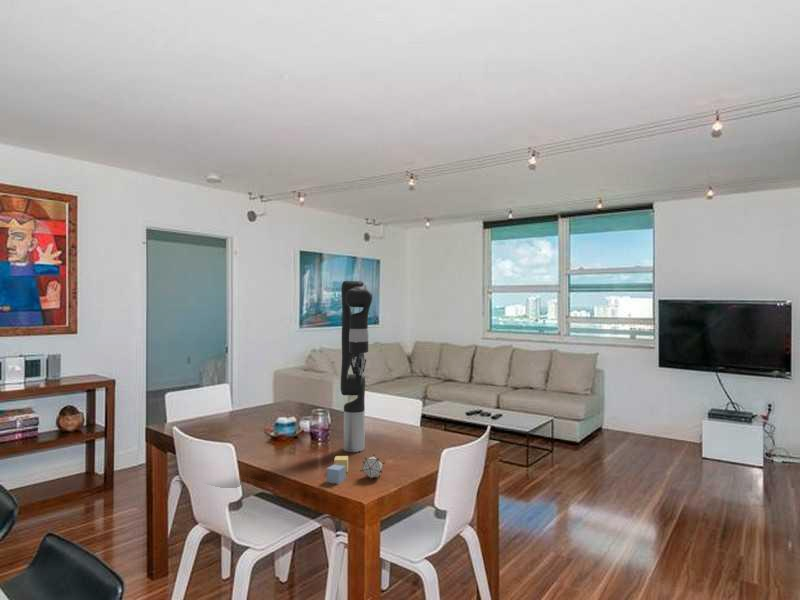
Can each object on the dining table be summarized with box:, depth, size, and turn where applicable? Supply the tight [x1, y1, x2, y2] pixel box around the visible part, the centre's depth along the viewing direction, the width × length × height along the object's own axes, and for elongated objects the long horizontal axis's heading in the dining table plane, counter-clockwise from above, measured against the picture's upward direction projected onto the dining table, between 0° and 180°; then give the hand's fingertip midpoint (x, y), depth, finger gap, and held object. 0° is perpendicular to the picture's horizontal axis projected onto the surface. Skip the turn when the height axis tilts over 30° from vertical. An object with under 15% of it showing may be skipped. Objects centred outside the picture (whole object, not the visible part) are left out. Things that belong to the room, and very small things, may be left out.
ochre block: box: [333, 455, 349, 473], centre depth 191 cm, size 5×5×5 cm
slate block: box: [326, 464, 347, 485], centre depth 180 cm, size 5×5×5 cm
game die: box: [359, 453, 386, 481], centre depth 183 cm, size 9×8×10 cm
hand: (358, 384), depth 193 cm, fingers closed
